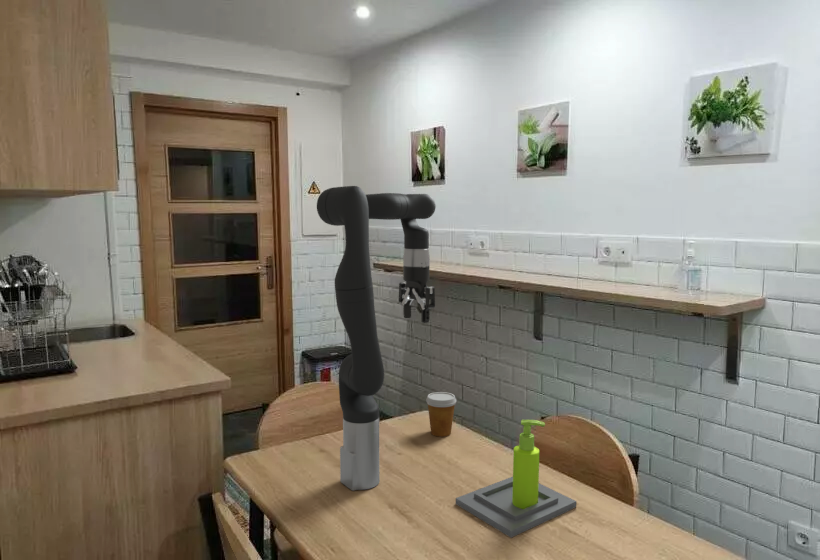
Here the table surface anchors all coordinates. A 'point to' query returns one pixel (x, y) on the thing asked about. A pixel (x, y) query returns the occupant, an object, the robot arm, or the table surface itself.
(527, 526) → the stand
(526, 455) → the soap dispenser
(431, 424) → the disposable coffee cup
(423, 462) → the table surface
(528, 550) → the table surface
